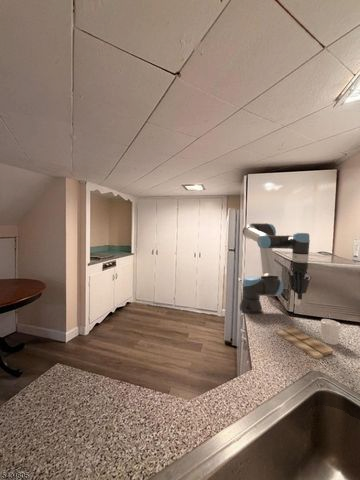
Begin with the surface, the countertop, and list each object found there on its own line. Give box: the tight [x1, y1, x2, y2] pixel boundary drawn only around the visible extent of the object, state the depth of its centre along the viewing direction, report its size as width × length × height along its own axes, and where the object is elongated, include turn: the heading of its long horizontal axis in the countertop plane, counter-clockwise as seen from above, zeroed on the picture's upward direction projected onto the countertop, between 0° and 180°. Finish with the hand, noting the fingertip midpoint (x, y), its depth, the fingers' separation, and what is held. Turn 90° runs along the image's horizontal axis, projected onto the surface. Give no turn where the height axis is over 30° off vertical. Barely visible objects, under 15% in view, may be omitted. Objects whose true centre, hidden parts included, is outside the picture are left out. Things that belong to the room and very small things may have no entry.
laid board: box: [274, 329, 324, 359], centre depth 101 cm, size 24×4×1 cm, turn 16°
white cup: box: [320, 318, 341, 346], centre depth 103 cm, size 8×8×10 cm
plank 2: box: [302, 337, 335, 356], centre depth 97 cm, size 11×6×1 cm, turn 16°
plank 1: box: [283, 326, 311, 342], centre depth 108 cm, size 11×6×1 cm, turn 16°
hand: (297, 304), depth 111 cm, fingers closed
